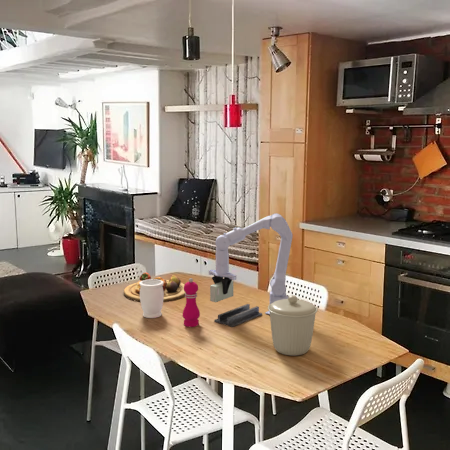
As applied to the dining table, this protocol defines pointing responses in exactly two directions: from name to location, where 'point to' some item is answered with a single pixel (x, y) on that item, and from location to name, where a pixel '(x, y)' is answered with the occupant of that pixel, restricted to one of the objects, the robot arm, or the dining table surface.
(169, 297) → the wooden plate with food
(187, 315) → the pepper mill
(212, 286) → the sage green block
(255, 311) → the rail
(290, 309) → the canister
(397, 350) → the dining table surface
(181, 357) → the dining table surface
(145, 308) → the jar
